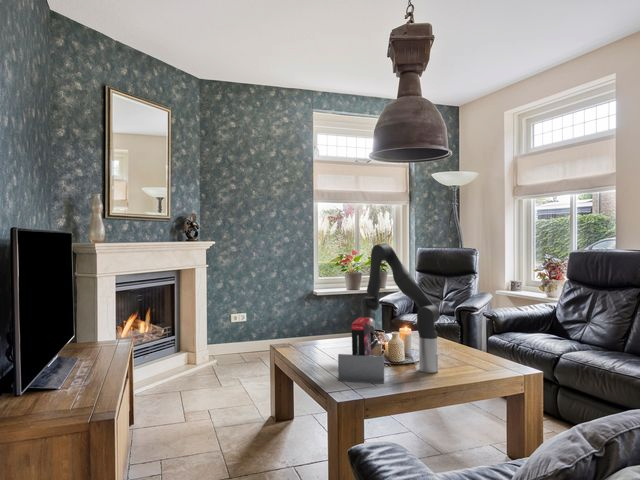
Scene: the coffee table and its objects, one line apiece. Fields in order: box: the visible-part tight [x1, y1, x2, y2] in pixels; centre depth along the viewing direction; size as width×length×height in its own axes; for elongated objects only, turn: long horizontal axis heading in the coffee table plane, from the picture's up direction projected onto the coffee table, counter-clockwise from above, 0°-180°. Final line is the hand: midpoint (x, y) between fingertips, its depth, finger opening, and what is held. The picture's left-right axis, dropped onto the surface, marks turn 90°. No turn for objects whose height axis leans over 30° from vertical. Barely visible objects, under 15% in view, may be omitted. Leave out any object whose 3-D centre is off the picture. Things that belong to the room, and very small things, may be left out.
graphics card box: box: [351, 317, 372, 355], centre depth 234 cm, size 17×7×27 cm, turn 164°
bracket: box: [336, 353, 385, 385], centre depth 228 cm, size 22×14×12 cm, turn 78°
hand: (365, 356), depth 243 cm, fingers closed
